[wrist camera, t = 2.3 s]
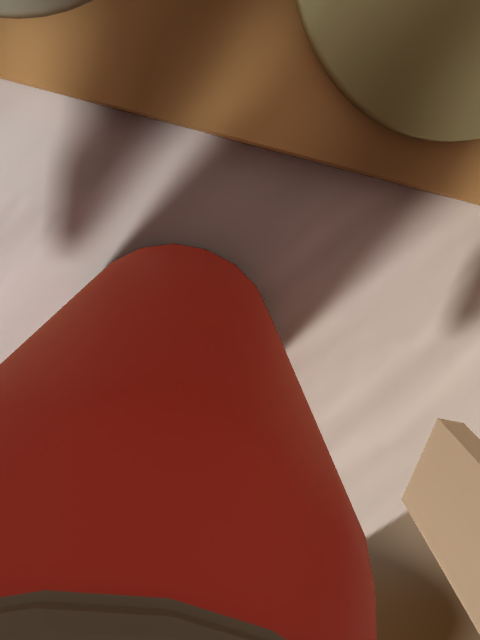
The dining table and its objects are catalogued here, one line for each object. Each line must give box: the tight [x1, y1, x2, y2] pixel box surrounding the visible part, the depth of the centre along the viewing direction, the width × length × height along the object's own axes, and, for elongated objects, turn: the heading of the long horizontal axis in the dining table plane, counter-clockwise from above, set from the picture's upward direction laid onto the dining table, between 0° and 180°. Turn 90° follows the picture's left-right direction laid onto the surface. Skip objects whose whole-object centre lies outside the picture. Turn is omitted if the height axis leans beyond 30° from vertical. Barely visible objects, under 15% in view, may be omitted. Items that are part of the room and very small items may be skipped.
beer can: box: [0, 244, 376, 640], centre depth 9 cm, size 7×7×12 cm
